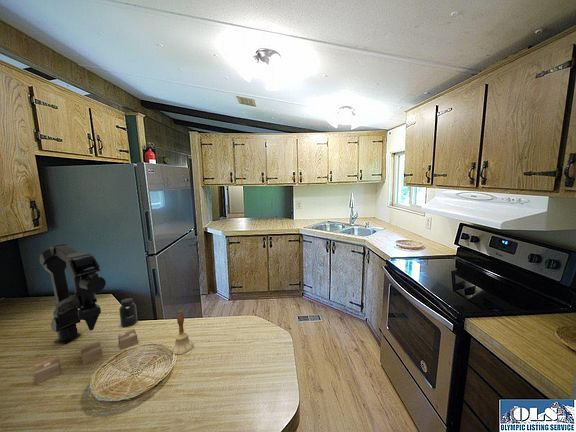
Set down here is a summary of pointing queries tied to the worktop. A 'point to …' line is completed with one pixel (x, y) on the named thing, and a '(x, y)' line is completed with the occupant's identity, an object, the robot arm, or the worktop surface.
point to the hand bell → (182, 337)
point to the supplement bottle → (128, 312)
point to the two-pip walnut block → (127, 339)
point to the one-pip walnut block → (47, 369)
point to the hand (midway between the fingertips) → (90, 325)
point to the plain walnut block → (91, 352)
